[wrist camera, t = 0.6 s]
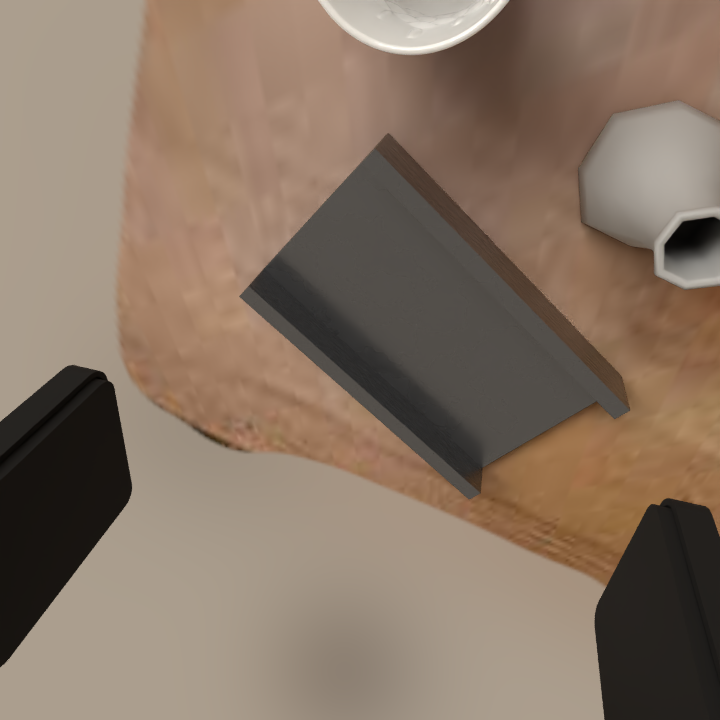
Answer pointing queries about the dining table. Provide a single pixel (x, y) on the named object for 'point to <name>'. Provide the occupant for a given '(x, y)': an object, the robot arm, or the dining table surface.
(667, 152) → the flask
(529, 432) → the track
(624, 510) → the dining table surface
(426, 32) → the white cup
